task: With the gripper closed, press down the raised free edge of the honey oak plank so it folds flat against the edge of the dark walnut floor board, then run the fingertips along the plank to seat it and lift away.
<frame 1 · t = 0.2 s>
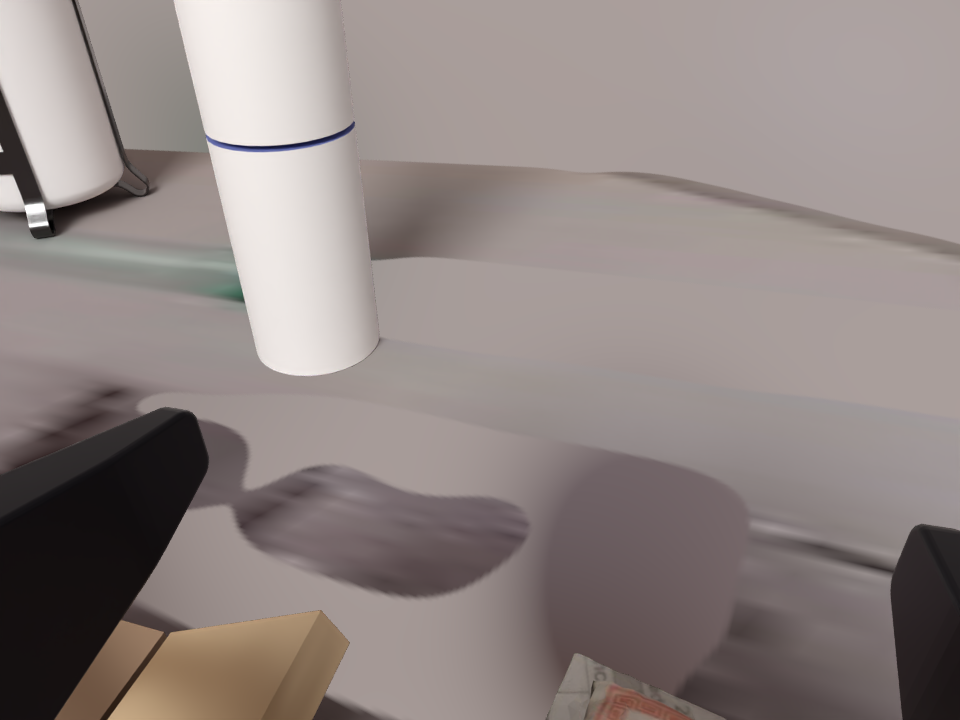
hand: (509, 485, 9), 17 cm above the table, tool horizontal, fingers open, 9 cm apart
coffee press: (48, 213, 59), on the table
cylindrical container: (319, 343, 42), on the table
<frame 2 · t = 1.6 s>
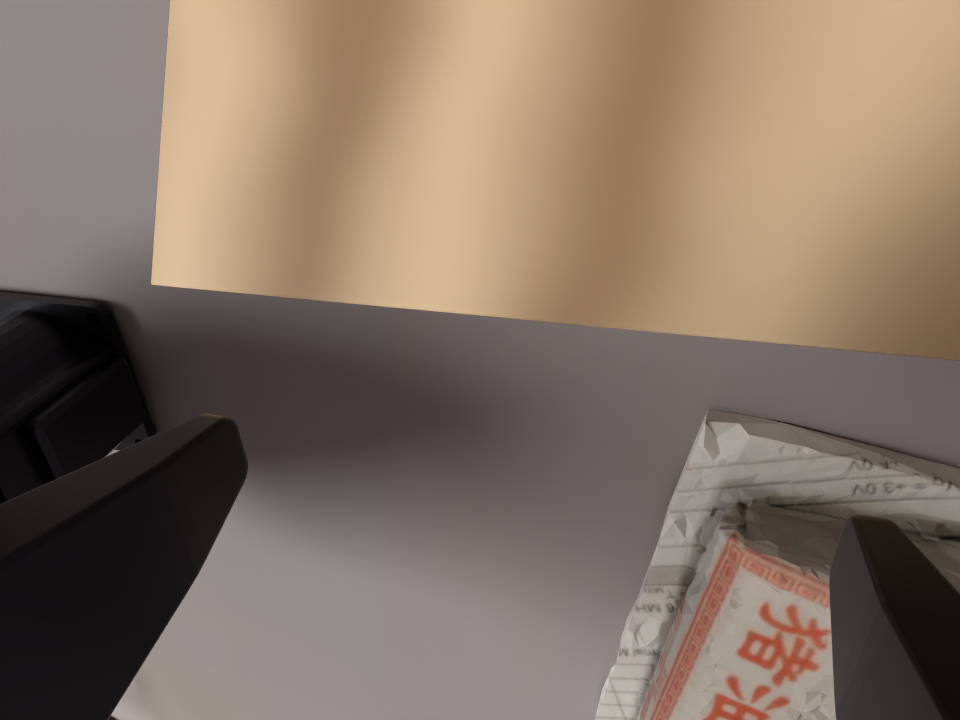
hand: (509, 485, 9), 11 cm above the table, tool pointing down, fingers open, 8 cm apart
packaged product: (773, 622, 25), on the table
oak plank: (596, 152, 15), point 3 cm above the table, hinge at 30.0°
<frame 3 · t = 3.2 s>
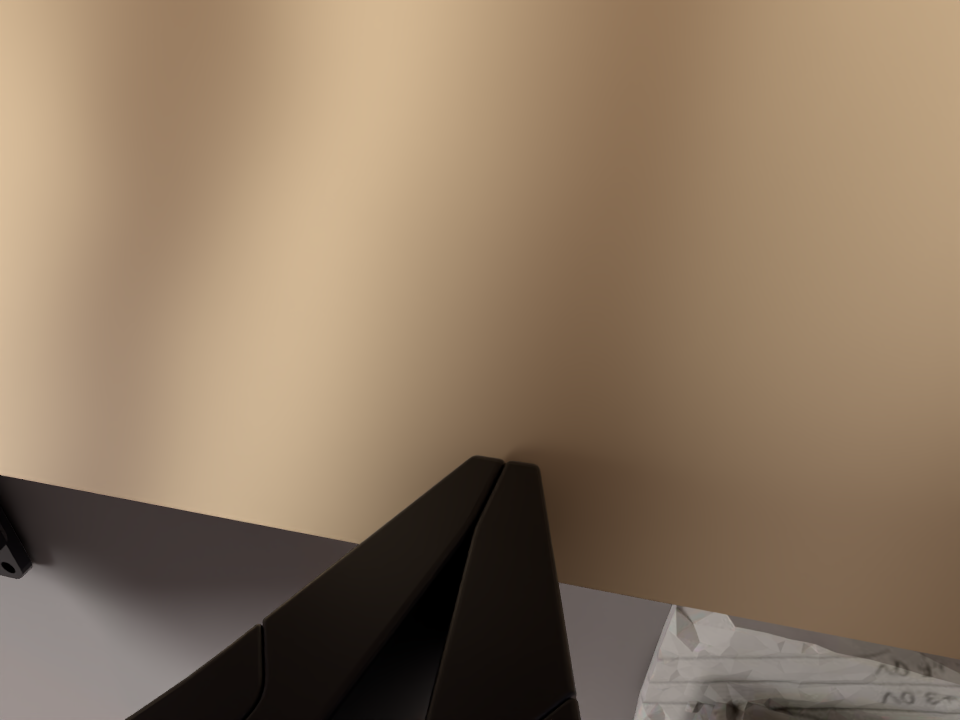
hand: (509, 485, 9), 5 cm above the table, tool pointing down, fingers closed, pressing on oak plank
oak plank: (541, 289, 9), point 3 cm above the table, hinge at 28.8°, touching gripper
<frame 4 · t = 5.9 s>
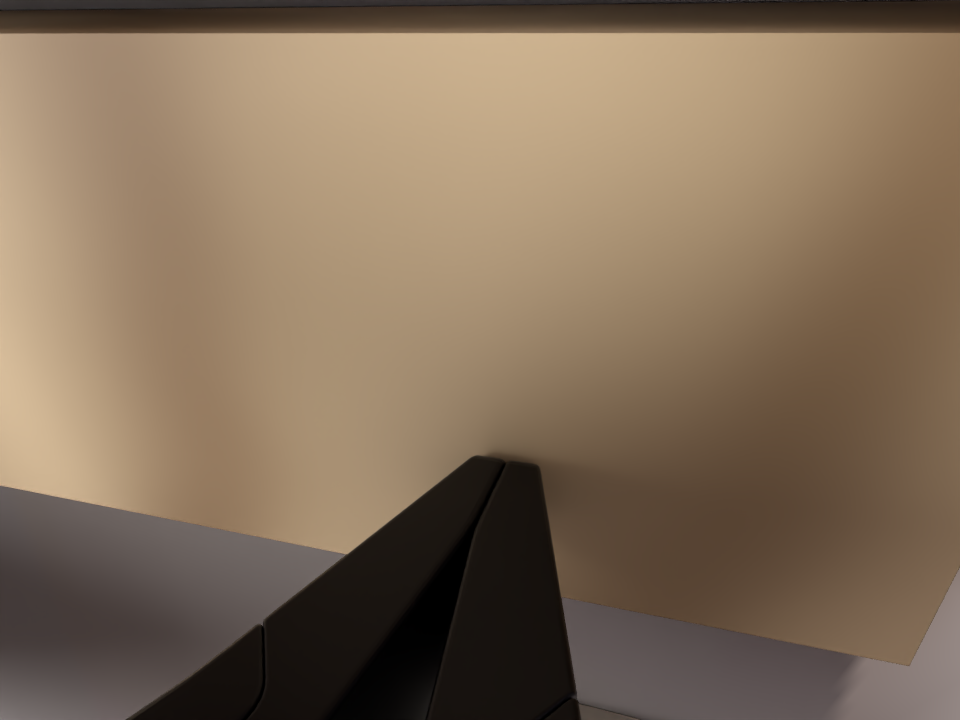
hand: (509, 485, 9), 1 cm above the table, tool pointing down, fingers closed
oak plank: (169, 306, 10), point 1 cm above the table, hinge at -1.8°
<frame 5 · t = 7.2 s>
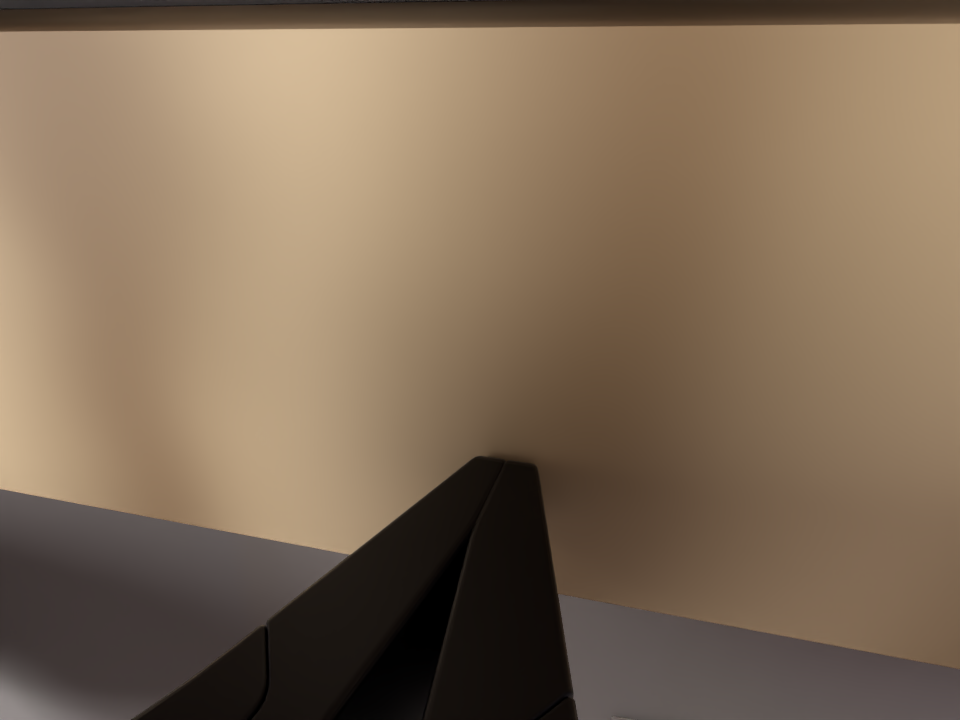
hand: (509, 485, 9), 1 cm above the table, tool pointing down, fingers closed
oak plank: (559, 346, 8), point 1 cm above the table, hinge at -1.8°
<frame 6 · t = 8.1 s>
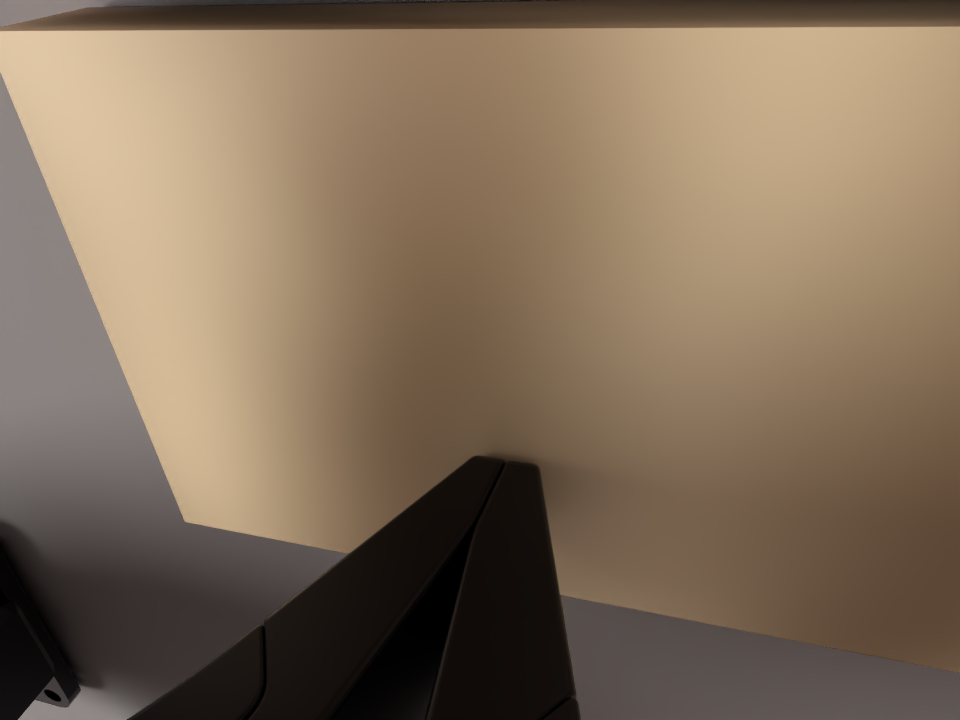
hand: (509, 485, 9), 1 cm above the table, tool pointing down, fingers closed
oak plank: (953, 389, 7), point 1 cm above the table, hinge at -1.8°, touching gripper
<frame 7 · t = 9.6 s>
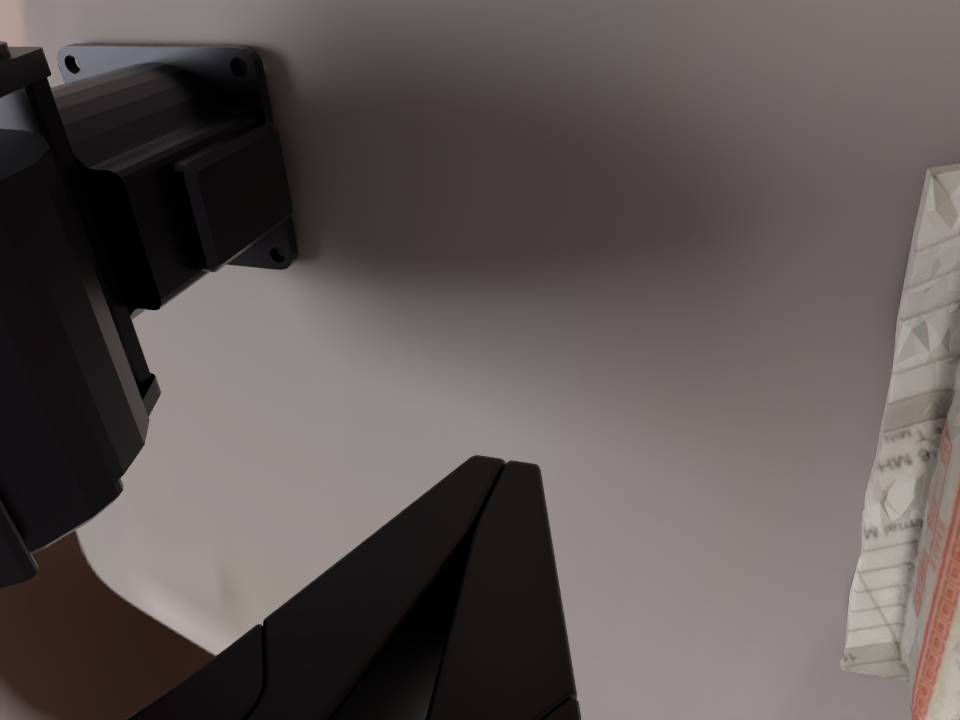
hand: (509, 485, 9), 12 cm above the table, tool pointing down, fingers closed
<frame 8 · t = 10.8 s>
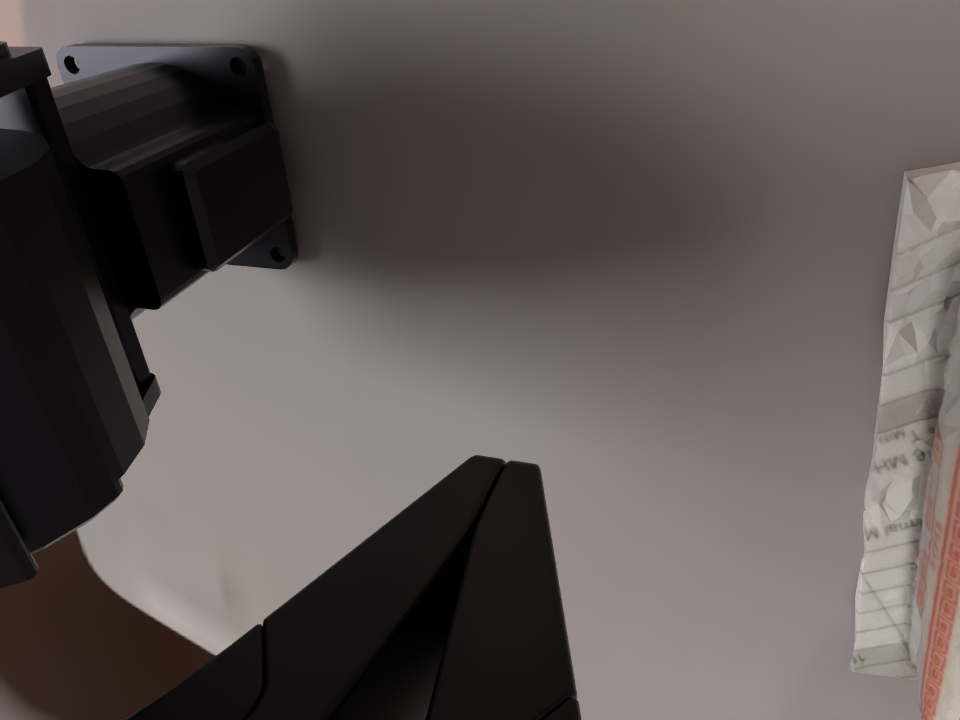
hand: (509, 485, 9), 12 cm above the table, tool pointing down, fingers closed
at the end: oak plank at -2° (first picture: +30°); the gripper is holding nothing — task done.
